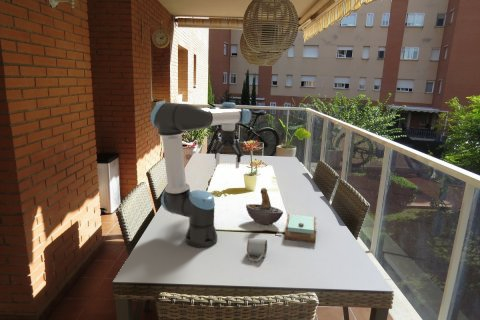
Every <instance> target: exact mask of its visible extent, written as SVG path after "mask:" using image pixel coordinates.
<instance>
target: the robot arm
mask: <svg viewBox="0 0 480 320" xmlns="http://www.w3.org/2000/svg"><path fill="white" fill-rule="evenodd" d="M251 119H252V112H251V110H249V109H248V108H238V107H237V108H236V103H235V102H226V101H225V102H222V105H221V106H214V107H211V108H208V107H206V106H198V105H193V104H188V103H176V102H169V101H167V102H166V101H165V102H164V101H163V102H158V103H157V104H156V105H154V108H153V109H152V110H151V114H150V121H151V124H152V126H153V127H154V128H156V129H157V133H158V134H157V135H159V136H160V137H161V138H162V147H163V157H164V166H165V173H166V180H167V181H166V183H167V185H166V187H165V188H164V190H163V192H162V196H161V197H160V202H161V203H160V204H161V206H162V208H163V210H165V211H166V212H169V213H171V214H172V215H179V216H183V217H186V218H188V220H189V221H188V223H189V225H188V228H187V231H186V232H185V233H186V234H185V238H184V239H185V243H186V244H187V245H188V246H190V247H193V248H208V247H211V246H215V244H217V243H218V233H217V230H216V227H215V205H216V204H215V197H214V195H213V194H212V193H211V192H208V191H206V190H200V189H199V190H198V189H197V190H196V189H195V190H192V191H191V188H190V184H188V183H187V182H186V181H187V179H186V170H185V160H184V149H183V140H182V136H183V134H184V133H185V132H192V131H197V130H205V129H209V128H210V127H211V126H212V127H213V126H221V136H217V137H216V142H215V143H214V145H213V148H212V149H211V152H212V153H214V159H215V165H216V166H218V165H220V155H221V154H220V151H221V150H222V149H223V148H224V146H225V147H230V148H231V149H232V150H233V152H234V154H235V155H236V156H235V169H238V168H240V163H241V159H242V158H241V157H244V156H245V154H244V151H243V148H242V146H241V144H240V138H238V139H235V136H236V131H235V130H236V124H243V125H247V124H249V123H250V121H252V120H251Z"/></svg>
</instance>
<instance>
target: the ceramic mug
mask: <svg viewBox="0 0 480 320" xmlns="http://www.w3.org/2000/svg"><path fill="white" fill-rule="evenodd" d="M267 251H268V240H267V238H253V237H252V238H248V240H247V243H246V253H247V256H248V260H249V261H250V262H251V263H252V262H253V263H258V262H259V261H261V260H262V258H266V257H267ZM251 256H254V257H255V256H256V257H258V258H255V259H253V258H251Z"/></svg>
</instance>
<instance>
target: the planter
mask: <svg viewBox="0 0 480 320" xmlns="http://www.w3.org/2000/svg"><path fill="white" fill-rule="evenodd" d="M260 194H261V199H262V200H261V203H260V204H259V203H257V204H255V203H253V204H252V203H249V204H246V205H245V209H246V211H247V213H248V216H249V217H250V218H251V219H252V220H253V222H255V223H258V224H260V225H266V224H271V225H273V224H274V223H277V222H278V221H280V218H282V216H283V214H284V211H283V210H282V209H279V208H277V207H274V206H272V204H271V200H270V196H269V193H268V189H267V188H266V187H263V188H262V187H261V189H260Z"/></svg>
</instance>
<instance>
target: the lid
mask: <svg viewBox="0 0 480 320" xmlns="http://www.w3.org/2000/svg"><path fill="white" fill-rule="evenodd" d="M314 217H315V216H309V215H308V216H307V215H299V214H297V215H296V214H289V223H288V231H292V232H301V233H309V234H314Z"/></svg>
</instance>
